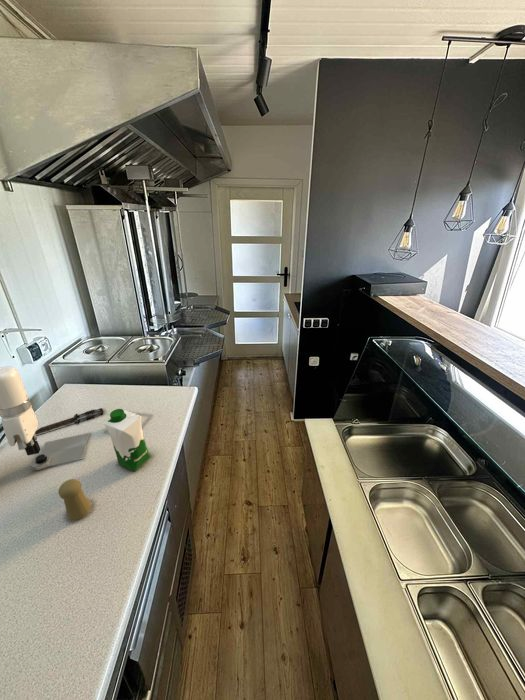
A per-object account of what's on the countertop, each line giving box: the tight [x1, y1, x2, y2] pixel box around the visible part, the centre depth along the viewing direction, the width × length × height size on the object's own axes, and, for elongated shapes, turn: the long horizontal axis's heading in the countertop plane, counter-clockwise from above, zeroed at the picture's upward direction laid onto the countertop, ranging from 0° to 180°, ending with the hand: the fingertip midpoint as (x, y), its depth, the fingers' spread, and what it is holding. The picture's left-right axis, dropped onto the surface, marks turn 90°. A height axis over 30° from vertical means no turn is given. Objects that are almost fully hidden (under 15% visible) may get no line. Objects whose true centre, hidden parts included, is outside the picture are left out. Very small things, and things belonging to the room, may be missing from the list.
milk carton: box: [104, 408, 151, 472], centre depth 93 cm, size 9×9×20 cm
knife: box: [35, 407, 104, 436], centre depth 115 cm, size 25×6×1 cm, turn 118°
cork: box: [58, 478, 93, 522], centre depth 79 cm, size 6×6×11 cm
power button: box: [34, 453, 46, 464], centre depth 95 cm, size 3×3×2 cm
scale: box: [30, 432, 90, 471], centre depth 100 cm, size 15×14×2 cm
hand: (34, 452), depth 93 cm, fingers closed
